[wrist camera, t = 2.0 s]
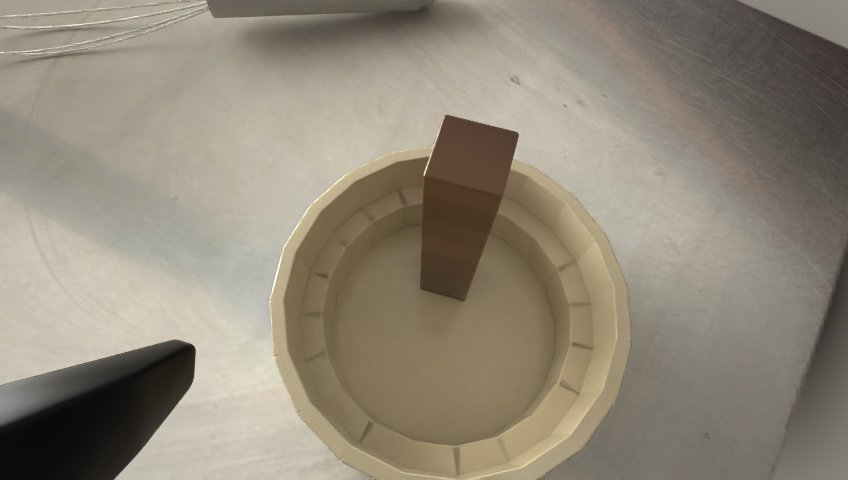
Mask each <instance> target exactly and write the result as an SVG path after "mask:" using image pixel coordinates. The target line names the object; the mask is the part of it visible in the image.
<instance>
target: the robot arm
mask: <svg viewBox="0 0 848 480" xmlns="http://www.w3.org/2000/svg"><path fill="white" fill-rule="evenodd" d="M195 355H196V349H195V347H194V346H193V345H192V344H190V343H187V342H184V341H180V340H171V341H167V342H163V343H159V344H155V345H152V346H148V347H144V348H140V349H136V350H133V351H129V352H125V353H121V354H117V355H114V356H110V357H106V358H102V359H98V360H95V361H91V362H87V363H83V364H79V365H75V366H72V367H68V368H64V369H60V370H56V371H53V372H49V373H45V374H41V375H37V376H34V377H30V378H26V379H22V380H18V381H15V382H11V383H7V384H3V385H0V480H114V479H115V478H116V477H117V476H118V475H119V474H120V472H121V471H122V470H123V469H124V468H125V467H126V466H127V465H128V464H129V463H130V462H131V461H132V460H133V459H134V457H135V456H136V455H137V454H138V453H139V452H140V451H141V449H142V448H143V447H144V446H145V445H146V443H147V442H148V441H149V440H150V438H151V437H152V436H153V434H154V433H155V432H156V431H157V429H158V428H159V427H160V426H161V424H162V423H163V422H164V420H165V419H166V418H167V417H168V415H169V414H170V413H171V411H172V410H173V409H174V408H175V406H176V405H177V404H178V403H179V401H180V400H181V399H182V397H183V396H184V395H185V394H186V392H187V391H188V390H189V388H190V386H191V385H192V382H193V379H194V370H195Z"/></svg>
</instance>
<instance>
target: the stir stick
mask: <svg viewBox="0 0 848 480" xmlns="http://www.w3.org/2000/svg"><path fill="white" fill-rule="evenodd" d="M518 137H519V134H518V133H517V132H514V131H510V130H506V129H502V128H498V127H494V126H490V125H486V124H482V123H478V122H474V121H470V120H466V119H462V118H458V117H454V116H450V115H445V116H444V117H443V119H442V122H441V125H440V128H439V131H438V134H437V137H436V140H435V142H434V145H433V148H432V151H431V154H430V157H429V160H428V163H427V166H426V168H425V171H424V174H423V197H422V234H421V271H420V289H422V290H425V291H429V292H432V293H435V294H439V295H442V296H446V297H449V298H453V299H456V300H460V301H465V299H466V296H467V294H468V291H469V288H470V285H471V283H472V280H473V277H474V275H475V272H476V269H477V266H478V264H479V261H480V258H481V256H482V253H483V250H484V247H485V245H486V242H487V239H488V237H489V234H490V231H491V228H492V226H493V223H494V220H495V218H496V215H497V212H498V209H499V207H500V204H501V201H502V199H503V196H504V192H505V188H506V184H507V180H508V176H509V172H510V168H511V164H512V160H513V156H514V152H515V149H516V145H517V141H518Z"/></svg>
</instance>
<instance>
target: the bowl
mask: <svg viewBox="0 0 848 480" xmlns="http://www.w3.org/2000/svg"><path fill="white" fill-rule="evenodd" d="M432 148H433V146H428V147H422V148H416V149H410V150H403V151H397V152H393V153H390V154H387V155H385V156H383V157H381V158H379V159H376V160H374V161H372V162H370V163H368V164H366V165H363V166H361V167H359V168H357V169H355V170H352V171H350V172H349V173H347V174H346V175H345V176H344V177H343V178H341V179H340V180H339V181H338V182H337V183H336V184H334V185H333V186H332V187H331V188H330V189H329V190H327V191H326V192H325V193H324V194H323V195H322V196H320V197H319V198H318V199H317V200H316V201H315V202H313V203H312V204H311V205H310V207H309V208H308V210H307V211H306V213H305V214H304V216H303V218H302V219H301V221H300V222H299V224H298V225H297V227H296V229H295V230H294V232H293V233H292V235H291V236H290V238H289V240H288V241H287V243H286V244H285V246H284V249H283V251H282V255H281V259H280V263H279V266H278V270H277V274H276V278H275V282H274V286H273V289H272V293H271V297H270V316H271V331H272V346H273V356H274V361H275V363H276V365H277V368H278V370H279V373H280V375H281V377H282V380H283V382H284V384H285V387H286V389H287V392H288V394H289V396H290V399H291V401H292V403H293V406H294V408H295V410H296V412H297V413H298V416H299V417H300V418H301V419H302V420H303V421H304V422H305V423H306V424H307V425H308V427H309V428H310V429H311V430H312V431H313V432H314V433H315V434H316V435H317V436H318V437H319V439H320V440H321V441H322V442H323V443H324V444H325V445H326V446H327V447H328V448H329V450H330V451H331V452H332V453H333V454H334V455H335V456H336V457H337V458H338V459H339V460H341V461H342V462H343V463H345V464H346V465H348V466H350V467H352V468H354V469H356V470H358V471H360V472H362V473H364V474H366V475H367V476H369V477H371V478H373V479H375V480H538V479H539V478H541V477H542V476H544V475H545V474H547V473H548V472H550V471H551V470H553V469H554V468H555V467H557V466H558V465H560V464H561V463H563V462H564V461H566V460H567V459H569V458H570V457H572V456H573V455H574V454H576V453H577V452H579V451H580V450H581V448H583V447H584V446H585V445H586V443H587V442H588V440H589V439H590V437H591V436H592V434H593V433H594V432H595V430H596V429H597V427H598V426H599V424H600V423H601V421H602V420H603V419H604V417H605V416H606V414H607V413H608V411H609V410H610V408H611V407H612V406H613V404H614V403H615V401H616V398H617V397H618V393H619V390H620V386H621V382H622V378H623V374H624V370H625V367H626V363H627V359H628V355H629V351H630V347H631V328H630V315H629V301H628V288H627V285H626V282H625V280H624V277H623V275H622V272H621V270H620V267H619V265H618V262H617V260H616V257H615V255H614V252H613V250H612V247H611V245H610V242H609V240H608V238H607V236H606V234H605V233H604V232H603V231H602V229H601V228H600V227H599V226H598V224H597V223H596V222H595V221H594V219H593V218H592V217H591V216H590V214H589V213H588V212H587V211H586V209H585V208H584V207H583V205H582V204H581V203H580V202H579V200H578V199H577V198H576V197H574V195H572V194H571V193H569V192H568V191H567V190H565V189H564V188H563V187H561V186H560V185H558V184H557V183H556V182H554V181H553V180H552V179H550V178H549V177H547V176H546V175H545V174H543V173H542V172H540V171H539V170H538V169H536V168H534V167H533V166H530V165H527V164H525V163H522V162H520V161H517V160H514V159H513V160H512V164H511V168H510V172H509V176H508V180H507V184H506V188H505V192H504V196H503V199H502V201H501V204H500V207H499V209H498V212H497V215H496V218H495V220H494V223H493V226H492V228H491V231H490V234H489V237H488V239H487V242H486V245H485V247H484V250H483V253H482V256H481V258H480V261H479V264H478V266H477V269H476V272H475V275H474V277H473V280H472V283H471V285H470V288H469V291H468V294H467V296H466V299H465V301H460V300H456V299H453V298H449V297H446V296H442V295H439V294H435V293H432V292H429V291H425V290H422V289H420V271H421V234H422V197H423V174H424V171H425V168H426V166H427V163H428V160H429V157H430V154H431V151H432Z"/></svg>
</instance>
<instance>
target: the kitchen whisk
mask: <svg viewBox="0 0 848 480" xmlns="http://www.w3.org/2000/svg"><path fill="white" fill-rule="evenodd" d="M192 1H200V0H180V1H170V2H161V3H152V4H143V5H133V6H123V7H113V8H102V9H91V10H80V11H68V12H56V13H43V14H29V15H13V16H0V19H7V18H22V17H38V16H50V15H63V14H75V13H86V12H97V11H108V10H118V9H128V8H137V7H147V6H156V5H165V4H174V3H183V2H192ZM433 3H434V0H207V2H204V3H199V4H195V5H191V6H186V7H182V8H177V9H173V10H168V11H163V12H158V13H153V14H148V15H142V16H136V17H130V18H124V19H118V20H111V21H104V22H96V23H89V24H78V25H68V26H51V27H7V26H0V28H3V29H55V28H69V27H80V26H91V25H98V24H105V23H113V22H120V21H126V20H132V19H138V18H144V17H149V16H154V15H159V14H164V13H169V12H174V11H179V10H183V9H188V8H192V7H197V6H201V5H205V4H208V6H206V7H203V8H200V9H197V10H194V11H192V12H189V13H186V14H183V15H180V16H177V17H174V18H171V19H168V20H165V21H162V22H159V23H155V24H152V25H148V26H145V27H142V28H138V29H135V30H131V31H128V32H124V33H120V34H116V35H112V36H108V37H104V38H100V39H96V40H91V41H87V42H82V43H77V44H72V45H67V46H62V47H55V48H48V49H41V50H34V51H22V52H0V55H17V56H36V55H55V54H62V53H68V52H75V51H82V50H87V49H92V48H96V47H100V46H104V45H109V44H113V43H117V42H120V41H124V40H127V39H131V38H134V37H137V36H141V35H144V34H147V33H150V32H153V31H156V30H159V29H162V28H165V27H168V26H170V25H173V24H175V23H178V22H181V21H183V20H186V19H189V18H191V17H194V16H196V15H198V14H201V13H203V12H206V11H208V10H210V11H211V14H212V15H213V17H214V18H229V17H256V16H282V15H308V14H335V13H361V12H388V11H414V10H420V7H432V6H433ZM196 12H197V13H196ZM193 13H195V14H193ZM190 14H192V15H190ZM188 15H190V16H188ZM185 16H187V17H185ZM182 17H185V18H182ZM179 18H182V19H179ZM176 19H179V20H177V21H174V22H172V23H169V24H166V25H163V26H160V27H158V28H155V29H152V30H149V31H146V32H143V33H140V34H136V35H133V36H129V37H126V38H123V39H119V40H116V41H112V42H108V43H103V44H99V45H95V46H90V47H86V48H80V49H74V50H67V51H61V52H54V53H37V52H44V51H51V50H58V49H65V48H70V47H75V46H79V45H84V44H89V43H94V42H99V41H103V40H107V39H110V38H114V37H118V36H122V35H126V34H130V33H133V32H137V31H140V30H144V29H147V28H150V27H154V26H157V25H160V24H163V23H167V22H170V21H173V20H176ZM30 53H33V54H30Z"/></svg>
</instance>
